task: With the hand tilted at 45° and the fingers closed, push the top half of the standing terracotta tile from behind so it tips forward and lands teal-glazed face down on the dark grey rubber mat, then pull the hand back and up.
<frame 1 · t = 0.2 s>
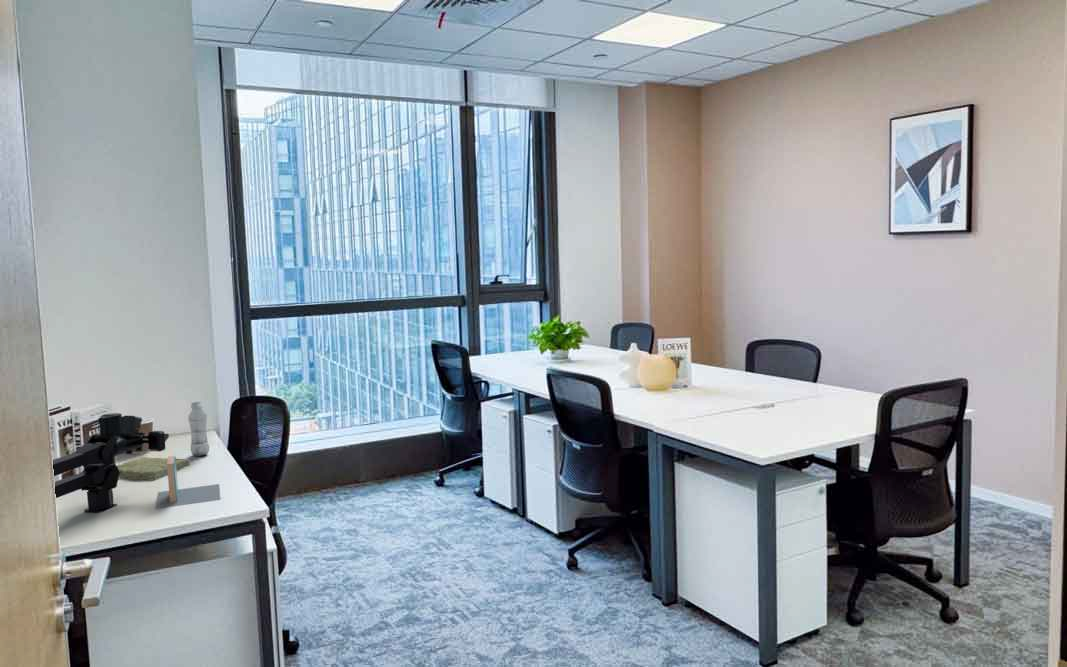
hand: (156, 434, 256), 17 cm above the table, tool horizontal, fingers open, 9 cm apart
decorative tile: (148, 473, 273), on the table
mat: (188, 497, 243), on the table
coffee cup: (141, 452, 303), on the table
tile: (174, 497, 241), resting on mat
plastic bottle: (200, 455, 294), on the table
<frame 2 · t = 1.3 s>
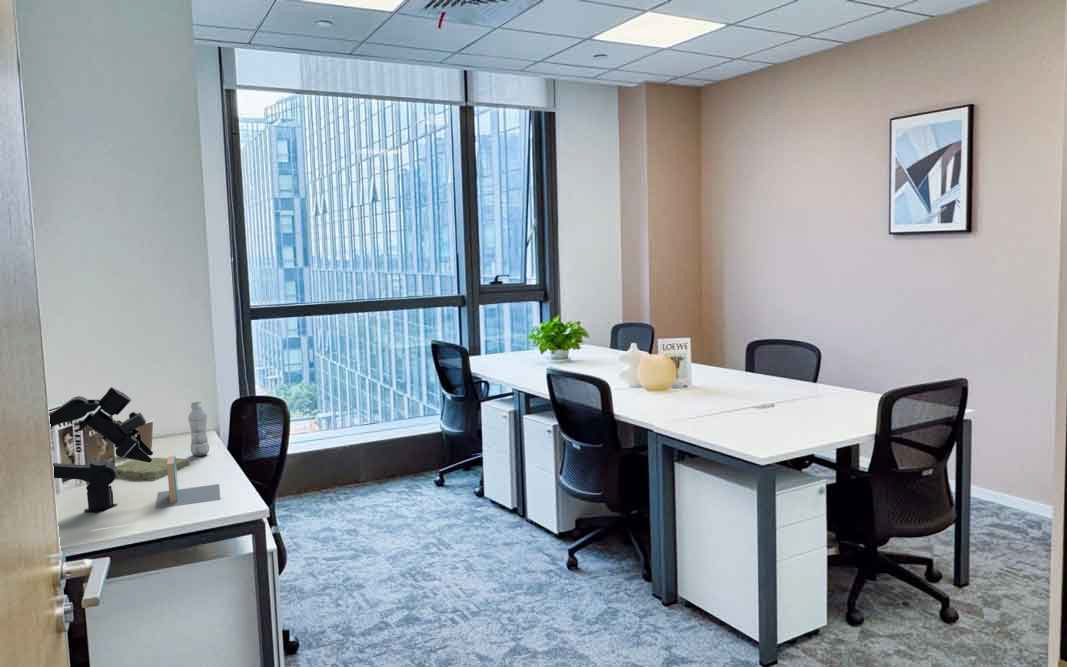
hand: (151, 457, 238), 14 cm above the table, tool tilted 45°, fingers open, 9 cm apart
nothing on the table moved.
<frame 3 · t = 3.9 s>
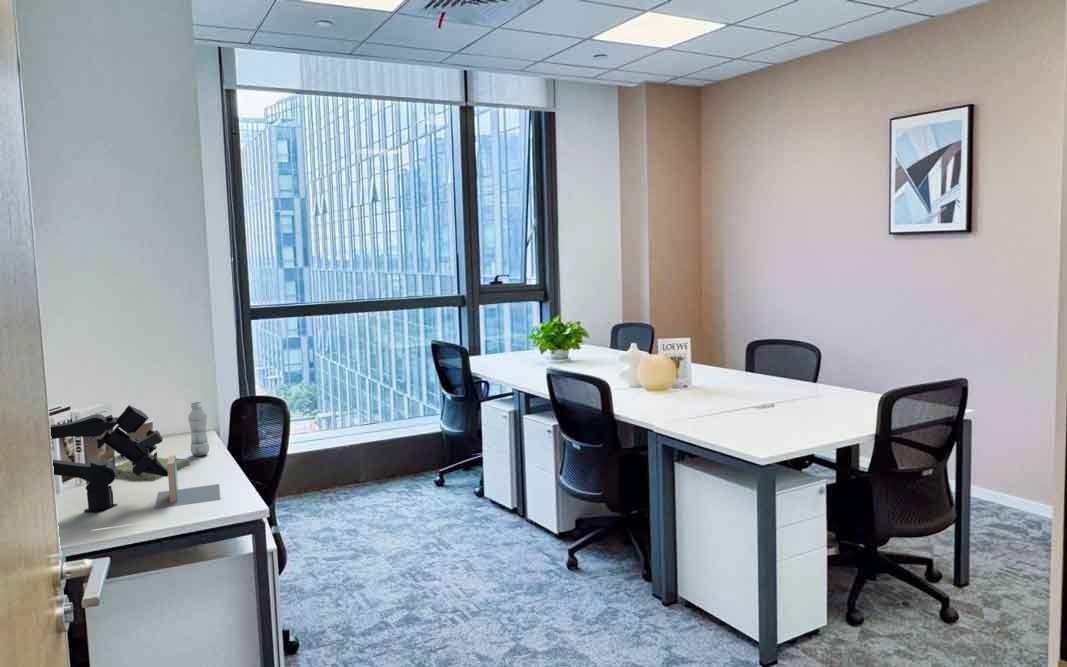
hand: (168, 475, 240), 8 cm above the table, tool tilted 45°, fingers closed, pressing on tile
tile: (174, 497, 241), resting on mat, touching gripper
everything else where it was.
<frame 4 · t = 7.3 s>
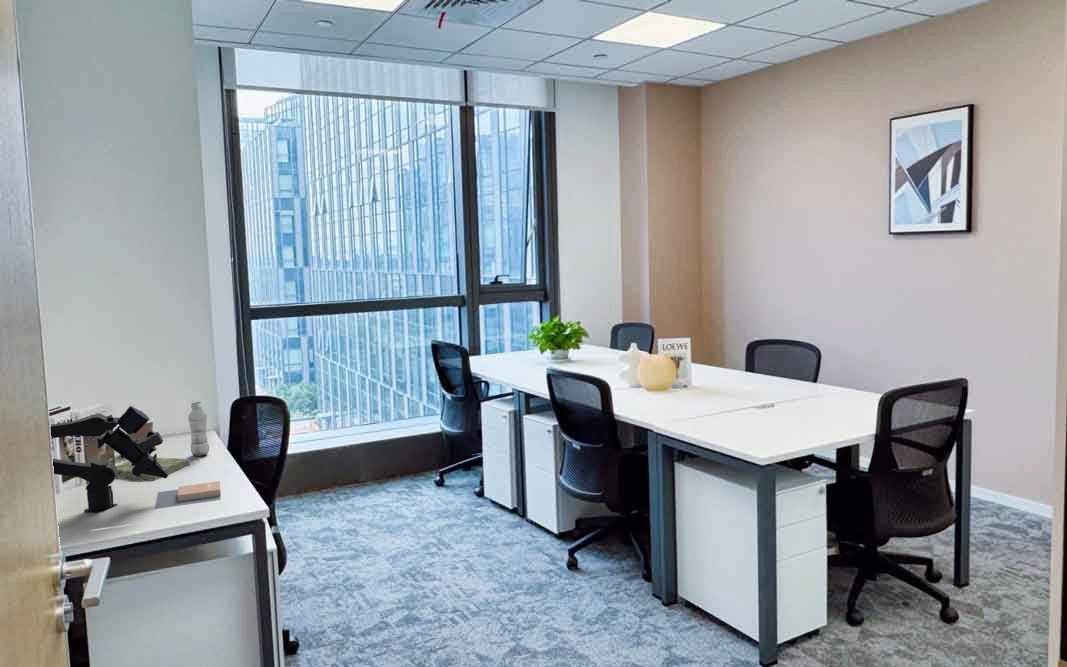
hand: (167, 476, 240), 7 cm above the table, tool tilted 45°, fingers closed
tile: (178, 494, 241), point 1 cm above the table, tilted 90°, touching mat
everything else where it was.
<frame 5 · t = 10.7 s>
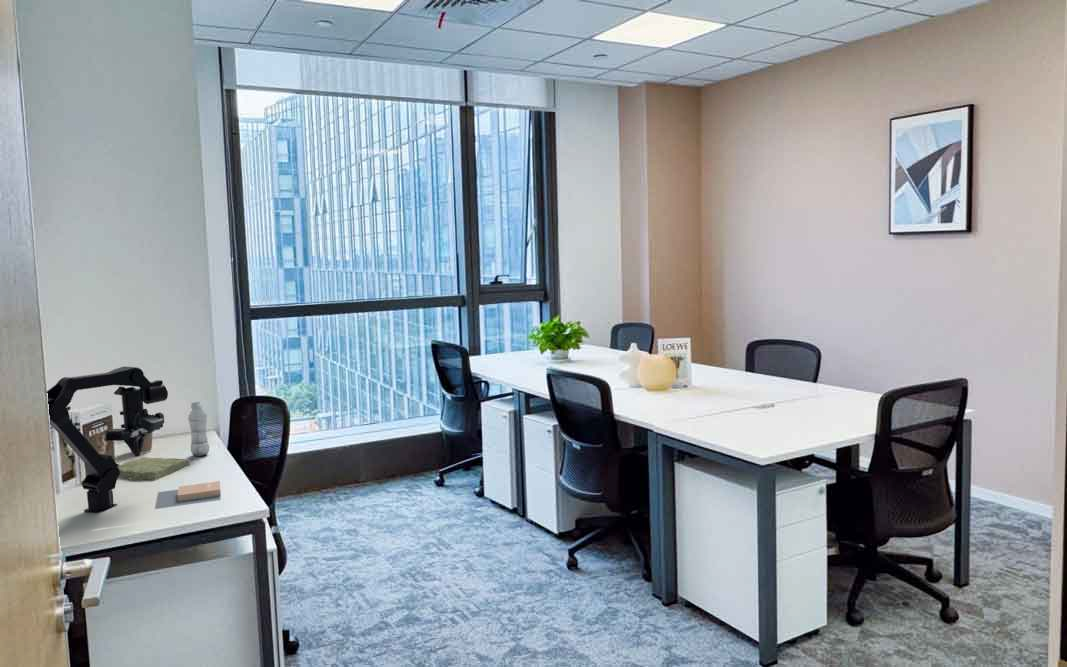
hand: (137, 456, 243), 13 cm above the table, tool pointing down, fingers closed
nothing on the table moved.
at the end: tile tilted 90°; tile inside the target area on the mat (0.3 cm from its centre), point 1.4 cm above the mat's base; tile touching mat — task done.
